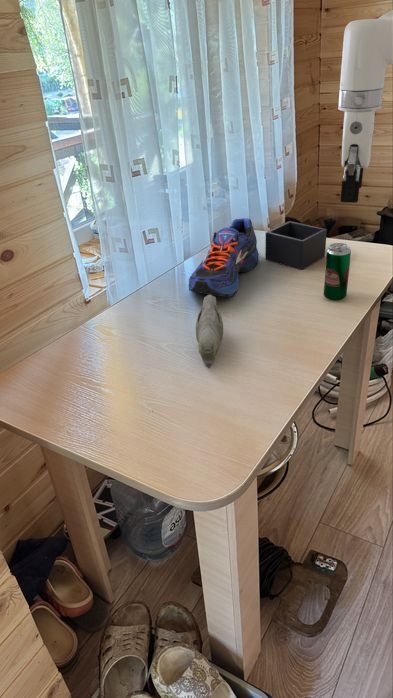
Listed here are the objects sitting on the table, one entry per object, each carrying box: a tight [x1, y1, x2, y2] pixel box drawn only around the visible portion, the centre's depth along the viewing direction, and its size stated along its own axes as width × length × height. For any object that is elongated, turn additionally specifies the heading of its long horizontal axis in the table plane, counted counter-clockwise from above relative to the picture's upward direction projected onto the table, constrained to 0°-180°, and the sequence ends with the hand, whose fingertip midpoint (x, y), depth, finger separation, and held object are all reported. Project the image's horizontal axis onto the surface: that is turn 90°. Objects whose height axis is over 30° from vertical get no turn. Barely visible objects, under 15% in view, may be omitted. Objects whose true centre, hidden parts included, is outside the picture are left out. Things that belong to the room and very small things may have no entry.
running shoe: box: [188, 217, 260, 298], centre depth 125 cm, size 12×32×13 cm, turn 159°
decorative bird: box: [195, 294, 224, 369], centre depth 100 cm, size 5×16×8 cm, turn 176°
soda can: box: [323, 242, 352, 302], centre depth 113 cm, size 5×5×12 cm
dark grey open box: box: [265, 220, 328, 271], centre depth 134 cm, size 12×11×8 cm
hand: (351, 194), depth 102 cm, fingers open, 9 cm apart
